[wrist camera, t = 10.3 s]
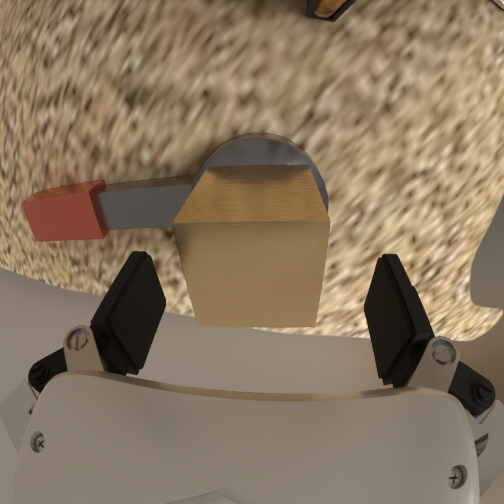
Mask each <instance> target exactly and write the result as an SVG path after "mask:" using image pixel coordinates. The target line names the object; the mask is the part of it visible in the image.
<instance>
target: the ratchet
mask: <svg viewBox="0 0 504 504" xmlns="http://www.w3.org/2000/svg"><path fill="white" fill-rule="evenodd" d="M234 165H308V166H309V168H310V170H311V173H312V175H313V178H314V180H315V183H316V185H317V188H318V190H319V193H320V195H321V198H322V200H323V203H324V206H325V208H326V211H327V214H328V195H327V190H326V187H325V184H324V182H323V179H322V177H321V175H320V173H319V171H318V169H317V167H316V165H315V163H314V162H313V160H312V159H311V157H310V156H309V155H308V154H307V153H306V152H305V151H304V150H303V149H302V148H301V147H300V146H298V145H297V144H295V143H294V142H292V141H290V140H288V139H286V138H284V137H281V136H278V135H275V134H269V133H249V134H245V135H240V136H238V137H235V138H232V139H230V140H228V141H227V142H225V143H223V144H222V145H221V146H219V147H218V148H217V149H216V150H215V151H214V152H213V153H212V154H211V155H210V157H209V158H208V159H207V161H206V162H205V163H204V165H203V166H202V167H201V169H200V170H199V172H198V173H197V175H196V176H182V177H170V178H159V179H149V180H140V181H131V182H123V183H115V184H108V185H105V183H104V179H103V180H97V181H91V182H85V183H79V184H74V185H68V186H63V187H58V188H53V189H49V190H44V191H39V192H36V193H35V194H34V195H32V196H31V197H30V198H28V199H27V200H26V201H24V202H23V203H22V205H23V208H24V211H25V213H26V216H27V219H28V221H29V224H30V226H31V229H32V231H33V234H34V236H35V238H36V241H58V240H84V239H104V238H105V236H106V235H107V234H108V233H109V232H110V230H111V229H129V228H154V227H173V224H172V223H173V221H174V220H175V218H176V216H177V215H178V213H179V211H180V210H181V208H182V206H183V205H184V203H185V202H186V200H187V198H188V197H189V195H190V194H191V192H192V191H193V189H194V187H195V186H196V184H197V183H198V181H199V180H200V178H201V177H202V175H203V174H204V172H205V171H206V169H207V168H208V167H213V166H234Z"/></svg>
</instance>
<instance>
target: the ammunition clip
mask: <svg viewBox="0 0 504 504" xmlns="http://www.w3.org/2000/svg"><path fill="white" fill-rule="evenodd" d="M355 1H356V0H308V2H307V15H306V16H307V17H310V18H316V19H322V20H327V21H332V22H335V21H336V20H337V19H338V18H339V17H340V16H341V15H342V14H343V13H344V12H345V11H346V10H347V9H348V8H349V7H350V6H351V5H352V4H353V3H354V2H355Z"/></svg>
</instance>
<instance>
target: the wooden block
mask: <svg viewBox="0 0 504 504" xmlns="http://www.w3.org/2000/svg"><path fill="white" fill-rule="evenodd" d="M172 224H173V229H174V233H175V238H176V242H177V247H178V251H179V255H180V260H181V264H182V268H183V272H184V276H185V280H186V284H187V288H188V292H189V295H190V299H191V303H192V307H193V310H194V314H195V317H196V321H197V324H198V325H204V326H228V327H315V324H316V318H317V312H318V307H319V301H320V295H321V288H322V282H323V275H324V268H325V261H326V254H327V246H328V238H329V229H330V219H329V216H328V214H327V211H326V208H325V206H324V203H323V200H322V198H321V195H320V193H319V190H318V188H317V185H316V183H315V180H314V178H313V175H312V173H311V170H310V168H309V166H308V165H234V166H213V167H208V168H207V169H206V171H205V172H204V174H203V175H202V177H201V178H200V180H199V181H198V183H197V184H196V186H195V187H194V189H193V191H192V192H191V194H190V195H189V197H188V198H187V200H186V202H185V203H184V205H183V206H182V208H181V210H180V211H179V213H178V215H177V216H176V218H175V220H174V221H173V223H172Z"/></svg>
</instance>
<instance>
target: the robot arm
mask: <svg viewBox="0 0 504 504" xmlns="http://www.w3.org/2000/svg"><path fill="white" fill-rule="evenodd" d="M493 1H494V2H496V3H497V4H498V5H499V6H500V7H501V8H503V9H504V0H493ZM165 307H166V299H165V296H164V293H163V290H162V288H161V285H160V282H159V279H158V276H157V273H156V270H155V267H154V264H153V261H152V258H151V256H150V255H148V254H147V253H146V252H145V251H134V252H132V253H131V255H130V256H129V258H128V259H127V261H126V262H125V264H124V266H123V267H122V269H121V270H120V272H119V274H118V275H117V277H116V279H115V280H114V282H113V283H112V285H111V287H110V288H109V290H108V292H107V294H106V295H105V297H104V299H103V300H102V302H101V304H100V306H99V308H98V309H97V311H96V313H95V315H94V317H93V318H92V320H91V325H90V327H88V326H85V325H79V326H76V327H74V328H72V329H71V330H70V331H69V332H68V333H67V335H66V336H65V338H64V341H63V348H61V349H59V350H57V351H56V352H54V353H52V354H50V355H48V356H46V357H45V358H43V359H41V360H39V361H37V362H36V363H35V364H34V365H33V366H32V367H31V369H30V371H29V375H28V381H27V380H26V379H24V380H23V381H22V383H20V384H19V385H18V386H17V387H16V389H14V390H13V391H12V392H11V393H10V394H9V395H8V396H7V398H6V399H5V400H4V401H3V402H2V403H1V406H0V415H1V418H2V420H3V423H4V425H5V427H6V429H7V432H8V434H9V436H10V438H11V440H12V442H13V444H14V446H15V448H16V449H17V451H18V453H19V455H18V459H17V463H16V468H15V473H14V478H13V484H12V490H11V498H10V504H479V499H480V497H481V496H482V495H483V494H484V492H485V491H486V490H487V489H488V488H489V486H490V485H491V484H492V482H493V481H494V480H495V479H496V477H497V476H498V475H499V473H500V472H501V471H502V469H503V468H504V406H503V404H502V403H501V402H500V401H499V400H498V401H497V402H496V400H495V390H494V386H493V385H492V383H491V382H490V381H489V380H487V379H486V378H485V377H483V376H482V375H480V374H479V373H477V372H476V371H474V370H473V369H471V368H470V367H468V366H467V365H465V364H464V363H462V362H461V361H459V357H460V355H459V350H458V348H457V346H456V344H455V343H454V342H453V341H452V340H450V339H449V338H446V337H442V336H438V337H435V335H434V333H433V330H432V327H431V325H430V322H429V320H428V317H427V315H426V312H425V310H424V307H423V305H422V303H421V300H420V298H419V296H418V293H417V291H416V289H415V288H414V286H412V285H411V282H410V280H409V278H408V276H407V274H406V272H405V269H404V267H403V265H402V263H401V261H400V259H399V257H398V255H397V254H383V255H382V257H380V258H378V260H377V264H376V267H375V271H374V274H373V278H372V281H371V284H370V288H369V291H368V294H367V297H366V300H365V304H364V312H365V316H366V321H367V325H368V329H369V333H370V338H371V342H372V347H373V351H374V357H375V362H376V367H377V372H378V376H379V378H380V379H381V378H382V379H383V385H388V384H393V388H387V389H378V390H367V391H352V392H336V393H309V394H282V393H253V392H236V391H224V390H214V389H203V388H196V387H187V386H181V385H174V384H167V383H161V382H155V381H150V380H145V379H139V378H134V377H129V376H126V374H127V373H130V374H134V375H138V372H139V370H140V369H142V368H143V366H144V364H145V361H146V358H147V355H148V353H149V349H150V347H151V344H152V341H153V339H154V336H155V333H156V331H157V328H158V325H159V322H160V320H161V317H162V315H163V312H164V310H165Z"/></svg>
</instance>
